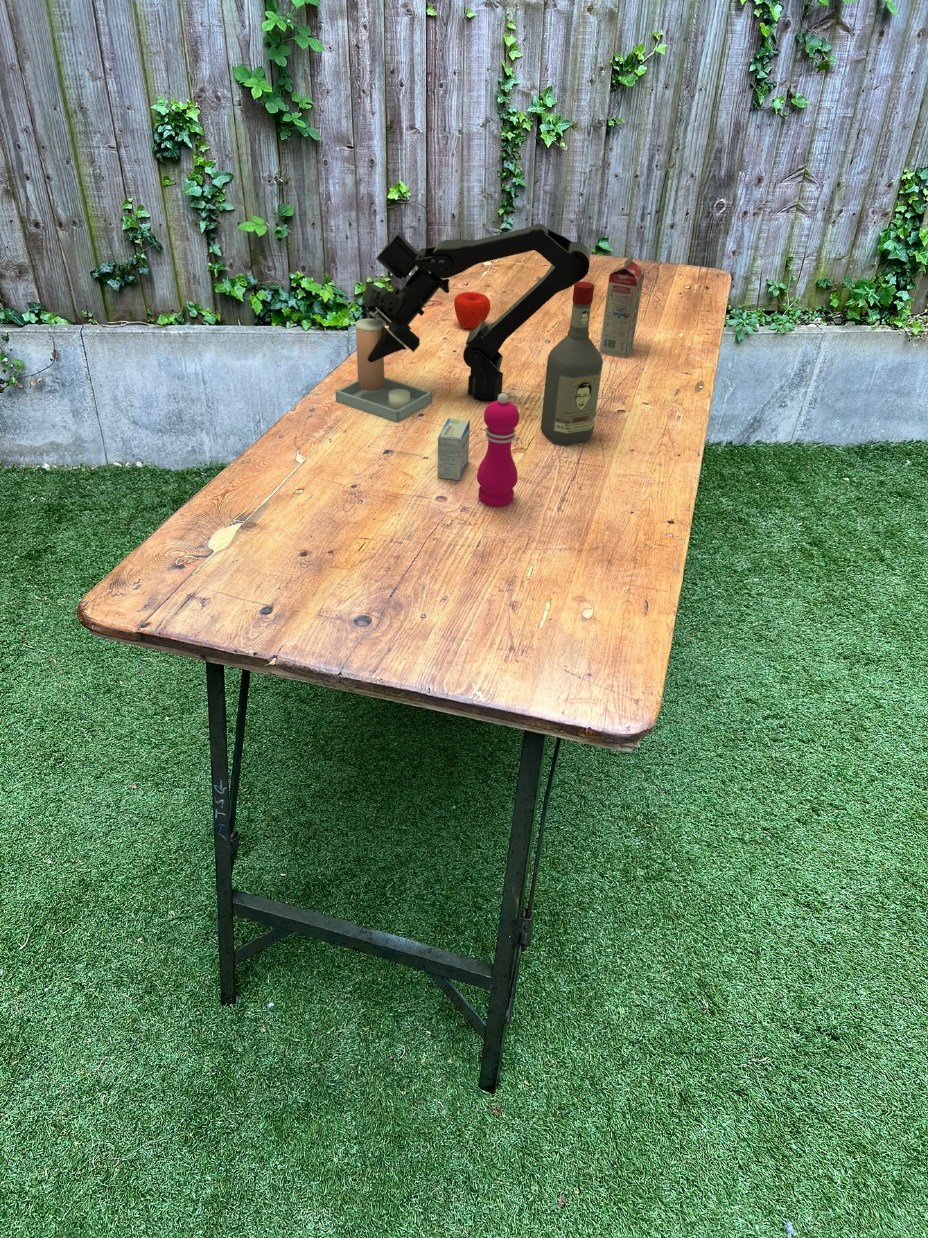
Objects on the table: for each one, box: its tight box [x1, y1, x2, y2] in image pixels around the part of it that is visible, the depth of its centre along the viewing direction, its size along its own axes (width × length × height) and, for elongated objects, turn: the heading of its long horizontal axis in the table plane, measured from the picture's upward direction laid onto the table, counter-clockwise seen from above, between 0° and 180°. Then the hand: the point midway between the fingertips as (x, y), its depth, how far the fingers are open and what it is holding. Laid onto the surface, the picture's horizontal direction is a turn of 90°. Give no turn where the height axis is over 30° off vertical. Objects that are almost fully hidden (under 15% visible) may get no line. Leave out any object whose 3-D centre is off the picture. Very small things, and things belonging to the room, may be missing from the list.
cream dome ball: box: [389, 389, 410, 410], centre depth 189 cm, size 4×4×3 cm
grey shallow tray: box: [335, 376, 433, 424], centre depth 191 cm, size 16×12×3 cm
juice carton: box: [598, 253, 645, 359], centre depth 215 cm, size 7×7×22 cm
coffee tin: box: [355, 318, 385, 391], centre depth 188 cm, size 6×6×13 cm
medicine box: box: [436, 417, 471, 481], centre depth 169 cm, size 8×4×9 cm, turn 168°
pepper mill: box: [476, 392, 520, 508], centre depth 158 cm, size 7×7×20 cm
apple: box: [453, 291, 491, 331], centre depth 228 cm, size 9×9×8 cm
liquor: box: [540, 281, 604, 447], centre depth 176 cm, size 9×9×30 cm
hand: (364, 355), depth 187 cm, fingers closed on coffee tin, 5 cm apart
